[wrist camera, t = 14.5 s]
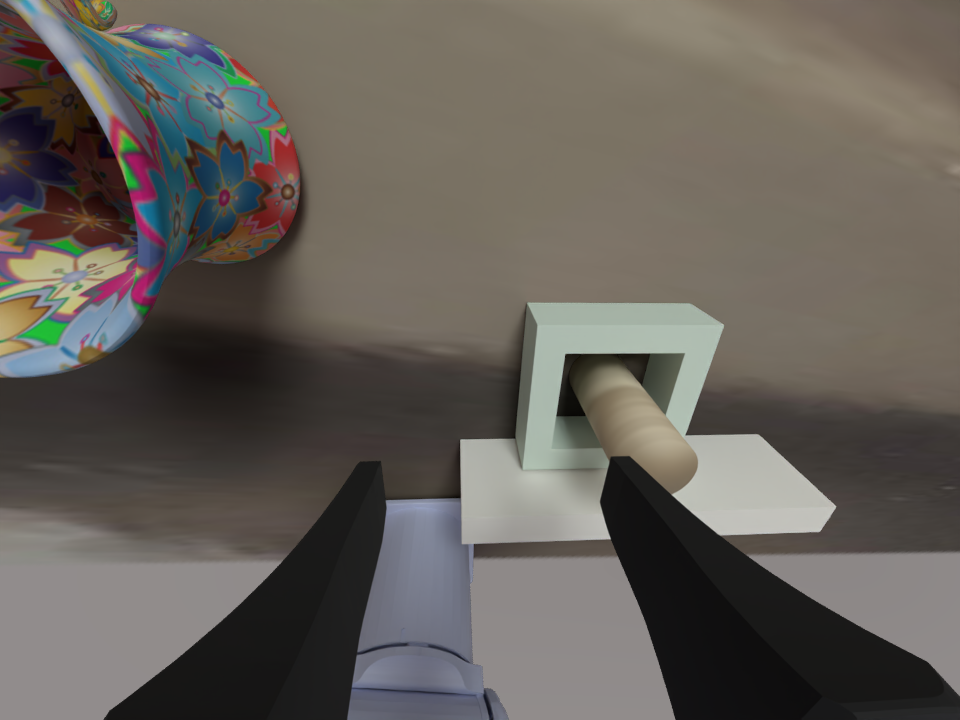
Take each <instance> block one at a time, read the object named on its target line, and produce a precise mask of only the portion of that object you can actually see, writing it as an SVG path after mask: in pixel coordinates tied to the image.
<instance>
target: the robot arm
mask: <svg viewBox="0 0 960 720" xmlns="http://www.w3.org/2000/svg"><path fill="white" fill-rule="evenodd" d="M600 505H601V509H602V513H603V516H604V520H605V523H606V527H607V530H608V533H609V536H610V538H611V541H612V543H613V545H614V548H615V550H616V553H617V555H618V557H619V560H620V562H621V564H622V567H623V569H624V571H625V574H626V576H627V578H628V581H629V583H630V585H631V588H632V590H633V593H634V595H635V597H636V599H637V602H638V604H639V607H640V609H641V612H642V614H643V617H644V620H645V622H646V625H647V628H648V631H649V634H650V637H651V640H652V643H653V646H654V650H655V653H656V656H657V658H658V662H659V665H660V669H661V672H662V675H663V678H664V682H665V685H666V688H667V692H668V695H669V698H670V701H671V705H672V709H673V712H674V716H675V719H676V720H960V696H959V695H958V694H957V693H956V692H955V691H954V690H953V689H952V688H951V687H950V685H949V684H948V683H947V682H946V681H945V680H944V679H943V678H942V677H941V676H940V675H939V674H938V673H937V672H936V670H935V669H934V668H933V667H932V666H931V665H930V664H929V663H928V662H927V661H925V660H923V659H921V658H919V657H917V656H915V655H913V654H911V653H909V652H907V651H905V650H903V649H901V648H900V647H898V646H896V645H894V644H892V643H890V642H888V641H886V640H884V639H882V638H880V637H878V636H876V635H875V634H873V633H871V632H869V631H867V630H865V629H863V628H861V627H860V626H858V625H856V624H854V623H853V622H851V621H849V620H847V619H846V618H844V617H842V616H840V615H839V614H837V613H835V612H833V611H831V610H830V609H828V608H826V607H825V606H823V605H821V604H819V603H818V602H816V601H815V600H813V599H811V598H810V597H808V596H806V595H805V594H803V593H802V592H800V591H798V590H797V589H795V588H794V587H792V586H791V585H789V584H788V583H786V582H784V581H783V580H781V579H780V578H778V577H777V576H775V575H774V574H772V573H771V572H769V571H768V570H766V569H765V568H763V567H762V566H760V565H759V564H758V563H756V562H755V561H753V560H752V559H751V558H749V557H748V556H746V555H745V554H744V553H742V552H741V551H740V550H738V549H737V548H735V547H734V546H733V545H731V544H730V543H729V542H727V541H726V540H725V539H724V538H722V537H721V536H720V535H718V534H717V533H716V532H715V531H714V530H712V529H711V528H710V527H709V526H707V525H706V524H705V523H704V522H702V521H701V520H700V519H699V518H698V517H696V516H695V515H694V514H693V513H692V512H691V511H689V510H688V509H687V508H686V507H685V506H684V505H683V504H681V503H680V502H679V501H678V500H677V499H676V498H675V497H674V496H672V495H671V494H670V493H669V492H668V491H667V490H666V489H665V488H664V487H663V486H662V485H660V484H659V483H658V482H657V481H656V480H655V479H654V478H653V477H652V476H651V475H650V474H649V473H648V472H647V471H645V470H644V469H643V468H642V467H641V466H640V465H639V464H638V463H637V462H636V461H635V460H634V459H632V458H631V457H630V456H611V458H610V462H609V466H608V470H607V474H606V478H605V482H604V486H603V490H602V494H601V498H600ZM473 552H474V544H462V536H461V498H448V499H411V500H386V498H385V491H384V483H383V475H382V467H381V461H369V462H360V463H358V464H357V466H356V467H355V469H354V470H353V472H352V473H351V475H350V476H349V478H348V479H347V481H346V482H345V484H344V485H343V487H342V488H341V490H340V491H339V492H338V494H337V495H336V497H335V498H334V499H333V501H332V502H331V503H330V505H329V506H328V507H327V509H326V510H325V511H324V513H323V514H322V515H321V517H320V518H319V519H318V520H317V522H316V523H315V524H314V525H313V527H312V528H311V529H310V530H309V531H308V533H307V534H306V535H305V536H304V537H303V539H302V540H301V541H300V542H299V543H298V545H297V546H296V547H295V548H294V549H293V550H292V551H291V553H290V554H289V555H288V556H287V557H286V558H285V559H284V560H283V561H282V563H281V564H280V565H279V566H278V567H277V568H276V569H275V570H274V571H273V572H272V573H271V574H270V575H269V576H268V577H267V578H266V579H265V580H264V581H263V582H262V583H261V584H260V585H259V586H258V587H257V588H256V589H255V590H254V591H253V592H252V593H251V594H250V595H249V596H248V597H247V598H246V599H245V600H244V601H243V602H242V603H241V604H240V605H239V606H238V607H236V608H235V609H234V610H233V611H232V612H231V613H230V614H229V615H228V616H227V617H226V618H224V619H223V620H222V621H221V622H220V623H219V624H218V625H216V626H215V627H214V628H213V629H212V630H211V631H209V632H208V633H207V634H206V635H205V636H204V637H202V638H201V639H200V640H199V641H198V642H197V643H195V644H194V645H193V646H192V647H191V648H190V649H188V650H187V651H186V652H185V653H184V654H183V655H181V656H180V657H179V658H178V659H177V660H175V661H174V662H173V663H171V664H170V665H169V666H168V667H166V668H165V669H164V670H162V671H161V672H160V673H159V674H157V675H156V676H155V677H153V678H152V679H151V680H149V681H148V682H147V683H146V684H144V685H143V686H142V687H140V688H139V689H138V690H137V691H135V692H134V693H133V694H132V695H130V696H129V697H127V698H126V699H125V700H124V701H122V702H121V703H119V704H118V705H117V706H115V707H114V708H113V709H111V710H110V711H109V712H108V714H107V716H106V717H105V718H104V720H509V718H508V715H507V713H506V710H505V709H504V707H503V705H502V704H501V702H500V700H499V697H498V696H497V694H496V693H495V691H493V690H492V689H488V688H484V687H483V669H482V666H481V665H475V664H473V659H472V658H473V657H472V629H471V599H470V583H472V581H473Z"/></svg>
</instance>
